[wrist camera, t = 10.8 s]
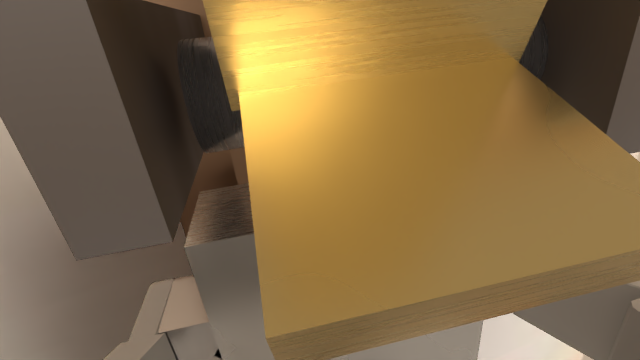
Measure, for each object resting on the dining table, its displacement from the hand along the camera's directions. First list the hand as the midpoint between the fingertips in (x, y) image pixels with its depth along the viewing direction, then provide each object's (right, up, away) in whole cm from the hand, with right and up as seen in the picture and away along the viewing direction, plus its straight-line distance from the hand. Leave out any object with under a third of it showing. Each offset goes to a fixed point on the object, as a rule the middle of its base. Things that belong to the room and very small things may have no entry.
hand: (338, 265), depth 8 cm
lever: (0, +2, -5) cm, 5 cm away
